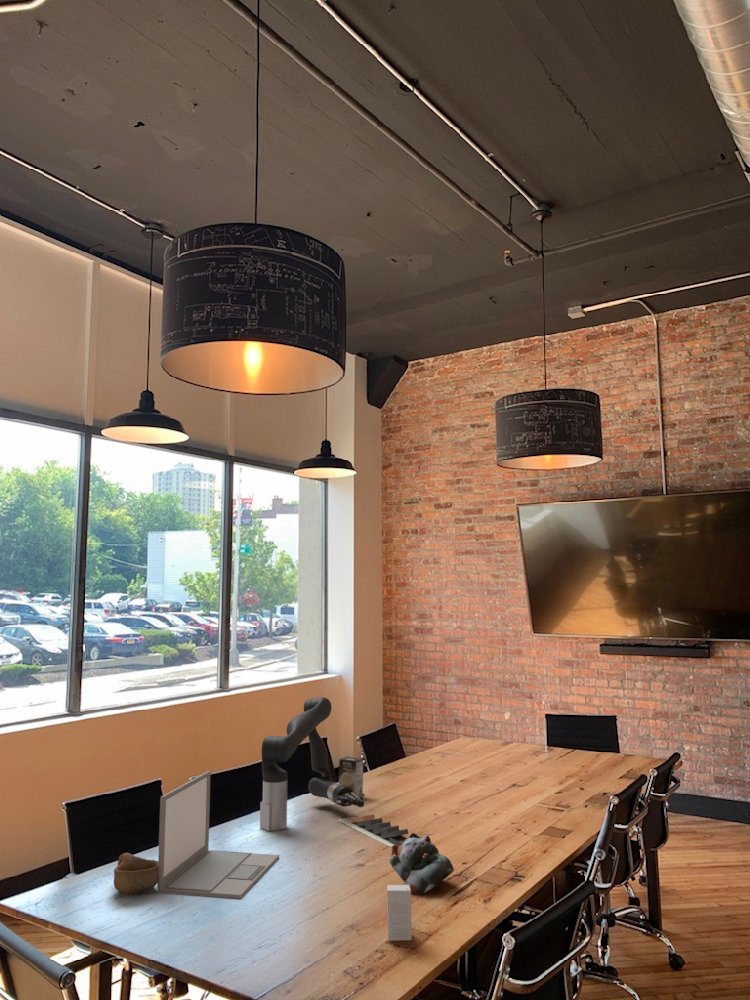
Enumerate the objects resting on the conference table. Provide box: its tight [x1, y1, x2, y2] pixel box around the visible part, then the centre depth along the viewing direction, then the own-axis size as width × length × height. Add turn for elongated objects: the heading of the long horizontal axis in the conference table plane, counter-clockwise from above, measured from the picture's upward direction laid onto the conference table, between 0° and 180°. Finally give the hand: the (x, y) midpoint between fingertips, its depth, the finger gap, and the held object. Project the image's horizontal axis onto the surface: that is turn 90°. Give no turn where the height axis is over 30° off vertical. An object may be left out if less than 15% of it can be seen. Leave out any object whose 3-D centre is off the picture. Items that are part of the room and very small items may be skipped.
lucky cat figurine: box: [389, 832, 455, 896], centre depth 227 cm, size 17×14×16 cm
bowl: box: [113, 852, 159, 896], centre depth 223 cm, size 18×14×10 cm
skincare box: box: [386, 884, 413, 942], centre depth 192 cm, size 6×4×12 cm
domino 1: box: [350, 813, 376, 823], centre depth 286 cm, size 2×5×10 cm
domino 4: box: [373, 825, 400, 834], centre depth 272 cm, size 2×5×10 cm
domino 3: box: [365, 821, 391, 830], centre depth 276 cm, size 2×5×10 cm
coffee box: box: [338, 756, 364, 796], centre depth 328 cm, size 9×6×16 cm
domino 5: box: [381, 828, 409, 838], centre depth 267 cm, size 2×5×10 cm
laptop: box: [156, 770, 280, 900], centre depth 237 cm, size 35×26×27 cm
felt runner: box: [337, 816, 394, 848], centre depth 278 cm, size 38×10×1 cm, turn 32°
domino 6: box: [389, 835, 409, 846], centre depth 262 cm, size 2×5×10 cm
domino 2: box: [358, 817, 384, 826], centre depth 281 cm, size 2×5×10 cm
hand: (362, 804), depth 286 cm, fingers closed
